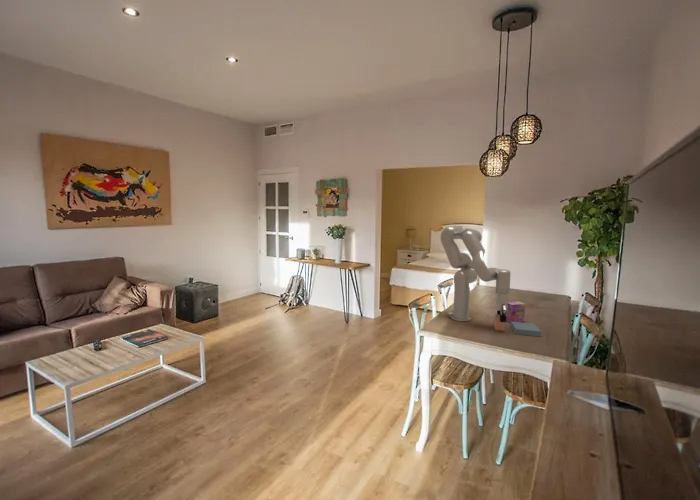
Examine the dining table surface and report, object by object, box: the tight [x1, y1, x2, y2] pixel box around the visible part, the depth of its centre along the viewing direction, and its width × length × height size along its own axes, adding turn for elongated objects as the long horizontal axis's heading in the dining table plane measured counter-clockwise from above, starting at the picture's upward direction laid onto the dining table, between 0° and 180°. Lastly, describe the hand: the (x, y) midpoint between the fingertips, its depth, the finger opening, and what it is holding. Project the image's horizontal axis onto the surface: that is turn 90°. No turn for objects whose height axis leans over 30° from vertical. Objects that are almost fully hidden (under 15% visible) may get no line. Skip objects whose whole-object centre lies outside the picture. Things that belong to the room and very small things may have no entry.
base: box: [510, 322, 542, 337], centre depth 210 cm, size 13×14×3 cm
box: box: [506, 301, 526, 324], centre depth 229 cm, size 10×6×12 cm, turn 105°
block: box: [493, 313, 506, 332], centre depth 213 cm, size 5×5×8 cm
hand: (501, 319), depth 212 cm, fingers open, 9 cm apart
